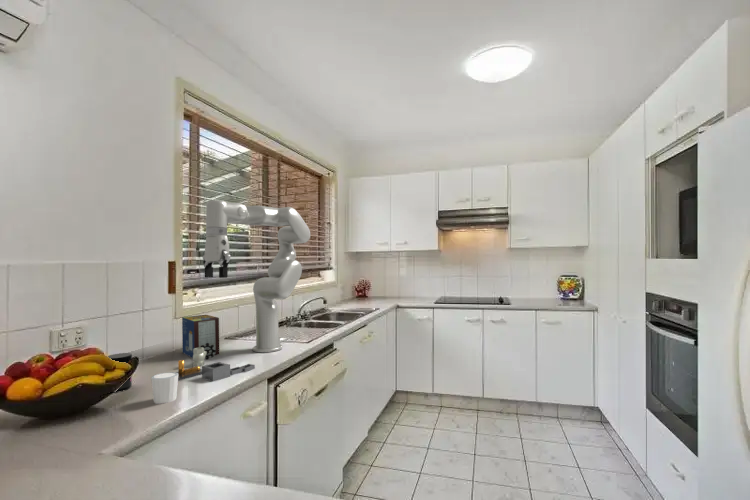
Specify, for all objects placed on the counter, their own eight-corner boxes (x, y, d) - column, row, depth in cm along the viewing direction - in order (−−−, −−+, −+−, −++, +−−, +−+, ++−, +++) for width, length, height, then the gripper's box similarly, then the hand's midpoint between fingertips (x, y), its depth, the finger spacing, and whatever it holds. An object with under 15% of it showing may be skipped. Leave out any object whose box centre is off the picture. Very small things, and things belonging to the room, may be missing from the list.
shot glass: (184, 397, 113) (183, 372, 113) (164, 405, 107) (164, 379, 107) (165, 394, 115) (165, 370, 116) (145, 403, 109) (145, 377, 109)
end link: (219, 373, 136) (219, 362, 136) (230, 376, 133) (230, 364, 133) (201, 378, 131) (201, 366, 131) (213, 381, 127) (212, 369, 127)
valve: (206, 367, 145) (216, 358, 157) (205, 349, 146) (216, 342, 158) (187, 367, 145) (199, 359, 157) (187, 349, 145) (199, 343, 157)
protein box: (206, 348, 176) (206, 314, 176) (219, 354, 164) (219, 317, 165) (181, 352, 169) (181, 316, 169) (193, 359, 157) (193, 320, 158)
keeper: (195, 370, 141) (195, 354, 141) (206, 373, 137) (206, 357, 137) (164, 378, 132) (164, 361, 132) (175, 381, 128) (175, 364, 128)
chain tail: (249, 366, 144) (249, 363, 144) (257, 368, 142) (257, 365, 142) (226, 373, 136) (226, 370, 136) (233, 375, 134) (233, 371, 134)
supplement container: (133, 389, 121) (133, 355, 121) (106, 394, 116) (106, 359, 117) (130, 384, 126) (130, 351, 126) (105, 388, 122) (105, 355, 122)
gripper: (238, 232, 148) (238, 277, 147) (213, 234, 158) (212, 277, 157) (220, 230, 142) (219, 278, 141) (195, 233, 152) (194, 277, 151)
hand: (215, 277), depth 149 cm, fingers open, 9 cm apart
